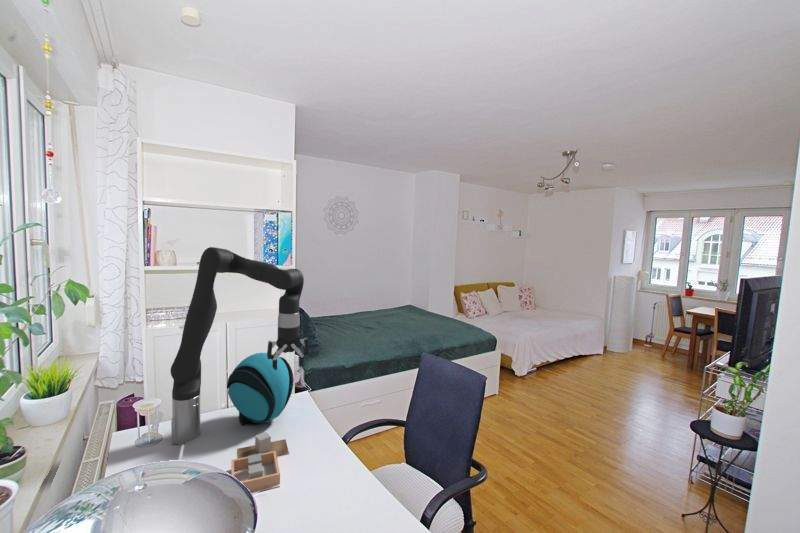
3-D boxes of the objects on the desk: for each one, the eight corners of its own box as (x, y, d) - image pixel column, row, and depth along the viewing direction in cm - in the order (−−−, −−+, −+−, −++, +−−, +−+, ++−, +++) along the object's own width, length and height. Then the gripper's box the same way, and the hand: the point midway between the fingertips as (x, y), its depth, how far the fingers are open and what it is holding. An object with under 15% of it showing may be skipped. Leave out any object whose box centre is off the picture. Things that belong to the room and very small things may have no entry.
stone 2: (248, 480, 115) (248, 465, 115) (261, 477, 117) (261, 462, 116) (249, 488, 111) (249, 473, 111) (262, 485, 113) (262, 470, 113)
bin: (231, 499, 108) (231, 485, 107) (231, 472, 119) (231, 460, 119) (279, 487, 114) (280, 474, 113) (275, 462, 125) (275, 450, 125)
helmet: (303, 420, 154) (305, 353, 152) (257, 446, 134) (258, 370, 131) (263, 403, 168) (264, 341, 165) (216, 425, 147) (216, 354, 144)
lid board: (237, 468, 122) (237, 465, 121) (237, 451, 131) (237, 448, 130) (289, 457, 129) (289, 454, 129) (285, 442, 138) (285, 439, 138)
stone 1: (247, 469, 120) (247, 455, 119) (260, 467, 122) (260, 453, 121) (248, 477, 116) (248, 463, 116) (261, 474, 118) (261, 460, 118)
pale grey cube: (259, 453, 128) (260, 440, 128) (255, 448, 131) (255, 435, 130) (270, 449, 131) (270, 436, 131) (265, 444, 134) (265, 431, 133)
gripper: (306, 320, 134) (305, 362, 136) (266, 323, 128) (266, 366, 130) (310, 325, 128) (309, 369, 129) (268, 328, 121) (268, 374, 123)
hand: (287, 367), depth 129 cm, fingers open, 8 cm apart
